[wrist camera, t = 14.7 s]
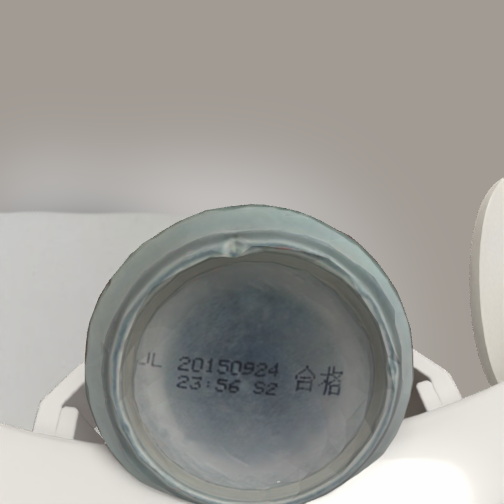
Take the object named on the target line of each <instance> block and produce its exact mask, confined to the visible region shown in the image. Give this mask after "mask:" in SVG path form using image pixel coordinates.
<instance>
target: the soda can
mask: <svg viewBox="0 0 504 504" xmlns="http://www.w3.org/2000/svg"><path fill="white" fill-rule="evenodd" d="M413 380H414V367H413V346H412V337H411V328H410V325H409V322H408V319H407V316H406V313H405V310H404V307H403V305H402V302H401V300H400V297H399V295H398V292H397V290H396V289H395V287H394V285H393V284H392V282H391V281H390V279H389V278H388V276H387V275H386V273H385V272H384V271H383V269H382V268H381V267H380V265H379V264H378V262H377V261H376V260H375V259H374V258H373V257H372V256H371V255H370V254H369V253H368V252H367V251H366V250H365V249H364V248H363V247H362V246H361V245H360V244H359V243H358V242H356V241H355V240H354V239H353V238H352V237H350V236H349V235H347V234H345V233H342V232H341V231H338V230H336V229H335V228H333V227H331V226H329V225H327V224H326V223H324V222H322V221H320V220H318V219H316V218H313V217H311V216H309V215H306V214H304V213H301V212H298V211H294V210H290V209H286V208H280V207H273V206H267V205H254V204H250V205H240V206H231V207H224V208H218V209H212V210H206V211H203V212H201V213H199V214H196V215H193V216H191V217H188V218H186V219H184V220H181V221H179V222H177V223H175V224H174V225H172V226H170V227H169V228H167V229H165V230H163V231H162V232H160V233H159V234H157V235H156V236H154V237H153V238H151V239H149V240H148V241H146V242H145V243H143V244H142V245H141V246H140V247H139V248H138V249H137V250H136V251H135V252H133V253H132V254H131V255H130V256H129V257H128V258H127V260H126V261H125V262H124V263H123V265H122V266H121V267H120V268H119V269H118V271H117V272H116V273H115V274H114V275H113V277H112V278H111V279H110V280H109V282H108V283H107V285H106V287H105V288H104V290H103V292H102V293H101V295H100V297H99V299H98V301H97V304H96V306H95V309H94V312H93V314H92V317H91V319H90V323H89V327H88V332H87V340H86V352H85V391H86V397H87V401H88V404H89V407H90V410H91V413H92V416H93V419H94V421H95V424H96V426H97V427H98V429H99V431H100V433H101V435H102V437H103V439H104V441H105V443H106V444H107V446H108V448H109V449H110V451H111V452H112V453H113V454H114V456H115V457H116V458H117V460H118V461H119V462H120V463H121V465H122V466H124V467H125V469H126V470H127V471H128V472H129V473H131V474H132V475H133V476H134V477H136V478H137V479H138V480H139V481H140V482H142V483H144V484H146V485H148V486H150V487H152V488H154V489H157V490H159V491H161V492H164V493H167V494H170V495H172V496H175V497H178V498H181V499H183V500H186V501H189V502H191V503H194V504H305V503H307V502H310V501H312V500H315V499H317V498H320V497H322V496H324V495H326V494H328V493H330V492H331V491H333V490H335V489H336V488H338V487H339V486H341V485H343V484H344V483H345V482H347V481H348V480H350V479H351V478H353V477H354V476H356V475H358V474H359V473H360V472H361V471H363V470H364V469H366V468H367V467H369V466H370V465H371V464H372V463H374V462H375V461H376V460H377V459H379V458H380V457H381V456H382V455H383V454H384V453H385V451H386V450H387V448H388V447H389V445H390V444H391V442H392V441H393V439H394V438H395V436H396V435H397V433H398V430H399V428H400V426H401V423H402V421H403V419H404V415H405V412H406V409H407V406H408V403H409V399H410V396H411V391H412V386H413ZM278 481H280V482H278ZM277 482H278V483H277Z"/></svg>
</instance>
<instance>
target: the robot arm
mask: <svg viewBox="0 0 504 504" xmlns="http://www.w3.org/2000/svg"><path fill="white" fill-rule="evenodd" d="M413 367H414V380H413V386H412V391H411V396H410V399H409V403H408V406H407V409H406V412H405V415H404V419H403V421H402V423H401V426H400V428H399V430H398V433H397V435H396V436H395V438H394V439H393V441H392V442H391V444H390V445H389V447H388V448H387V450H386V451H385V453H384V454H383V455H382V456H381V457H380V458H379V459H377V460H376V461H375V462H374V463H372V464H371V465H370V466H369V467H367V468H366V469H364V470H363V471H361V472H360V473H359V474H358V475H356V476H354V477H353V478H351V479H350V480H348V481H347V482H345V483H344V484H343V485H341V486H339V487H338V488H336V489H335V490H333V491H331V492H330V493H328V494H326V495H324V496H322V497H320V498H317V499H315V500H312V501H310V502H307V503H305V504H504V381H502V382H500V383H498V384H496V385H494V386H491V387H489V388H487V389H485V390H482V391H480V392H478V393H475V394H473V395H470V396H468V397H466V398H462V397H461V395H460V392H459V391H458V388H457V387H456V385H455V383H454V381H453V379H452V377H451V375H450V374H449V372H447V371H445V370H444V369H443V368H441V367H440V366H438V365H437V364H435V363H434V362H432V361H431V360H429V359H428V358H426V357H425V356H423V355H422V354H420V353H419V352H417V351H416V350H414V349H413ZM95 427H96V424H95V421H94V419H93V416H92V413H91V410H90V407H89V404H88V401H87V397H86V391H85V363H80V364H79V365H78V366H77V367H76V368H75V369H74V370H73V371H72V372H71V373H70V374H69V375H68V376H66V377H65V378H64V379H63V380H62V381H61V382H60V383H59V384H58V385H57V386H56V387H55V388H54V389H53V390H52V391H51V392H49V393H48V394H47V395H46V396H45V397H44V398H43V399H42V400H41V401H40V404H39V408H38V411H37V415H36V418H35V422H34V426H33V429H32V431H29V430H25V429H21V428H17V427H14V426H10V425H6V424H3V423H0V504H194V503H191V502H189V501H186V500H183V499H181V498H178V497H175V496H172V495H170V494H167V493H164V492H161V491H159V490H157V489H154V488H152V487H150V486H148V485H146V484H144V483H142V482H140V481H139V480H138V479H137V478H136V477H134V476H133V475H132V474H131V473H129V472H128V471H127V470H126V469H125V467H124V466H122V465H121V463H120V462H119V461H118V460H117V458H116V457H115V456H114V454H113V453H112V452H111V451H110V449H109V448H108V446H107V444H104V443H105V441H104V440H103V438H102V437H101V436H100V435H99V434H98V433H97V432H96V431H95V430H94V428H95ZM278 482H280V481H278ZM278 482H277V483H278Z"/></svg>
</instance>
